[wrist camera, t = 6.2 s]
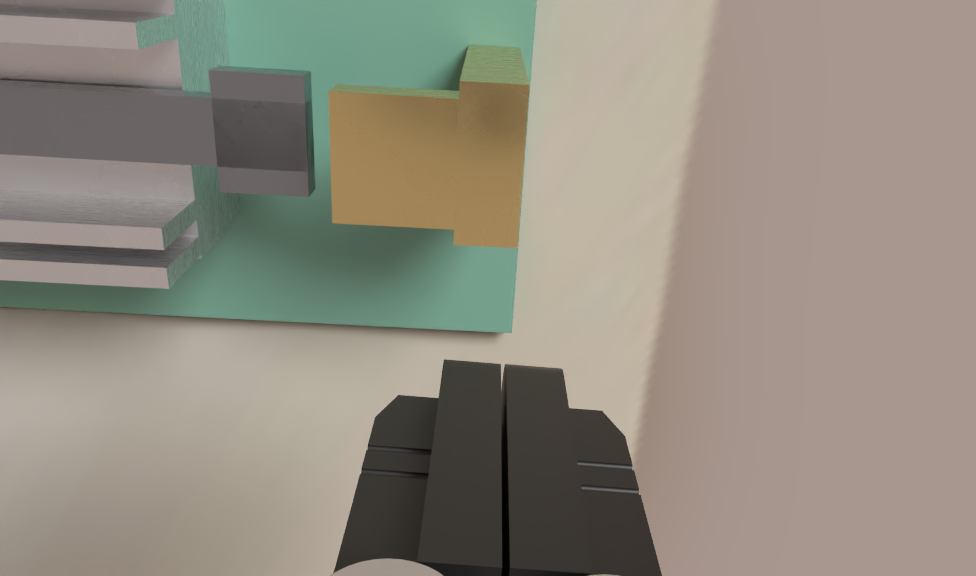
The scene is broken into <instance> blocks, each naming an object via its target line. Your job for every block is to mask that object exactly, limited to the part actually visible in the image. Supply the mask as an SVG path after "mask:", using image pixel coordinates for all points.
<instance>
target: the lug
mask: <svg viewBox="0 0 976 576" xmlns="http://www.w3.org/2000/svg"><path fill="white" fill-rule="evenodd" d="M529 87H530V84H529V80H528V77H527V73H526V69H525V65H524V61H523V57H522V53H521V49H520V48H517V47H499V46H482V45H469V46H468V50H467V54H466V58H465V62H464V66H463V69H462V73H461V77H460V84H459V91H449V90H432V89H414V88H396V87H378V86H360V85H343V84H336V85H335V86H334V87H333V88H332V89H330V90H329V91H328V97H329V130H330V163H331V196H332V223H337V224H355V225H374V226H393V227H412V228H430V229H449V230H454V241H453V245H465V246H484V247H503V248H517V247H518V234H519V221H520V207H521V194H522V180H523V167H524V154H525V140H526V127H527V113H528V100H529Z"/></svg>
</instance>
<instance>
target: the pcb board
mask: <svg viewBox="0 0 976 576" xmlns="http://www.w3.org/2000/svg"><path fill="white" fill-rule="evenodd" d="M224 2H225V14H226V26H227V39H228V51H229V64H230V66H235V67H252V68H269V69H286V70H303V71H311V86H312V111H313V137H314V163H315V190H314V191H313V193H312V194H311V195H310V196H309V197H295V196H278V195H260V194H243V193H240V200H241V212H242V215H241V216H240V217H239V218H238V219H237V220H236V222H235V223H234V224H233V225H232V226H231V227H230V228H229V229H228V230H227V231H226V232H225V233H224V234H223V235H222V237H221V238H220V239H219V240H218V241H217V242H216V243H215V244H214V245H213V246H212V247H211V248H210V249H209V250H208V251H207V253H206V254H205V255H204V256H203V257H202V258H201V259H200V258H198V259H197V260H196V261H195V262H194V263H193V264H192V265H191V266H190V267H189V268H188V269H187V270H186V271H185V272H184V273H183V275H182V276H181V277H180V278H179V279H178V280H177V281H176V282H175V283H174V284H173V285H172V286H171V287H170V288H169V289H163V288H144V287H124V286H105V285H86V284H66V283H47V282H28V281H9V280H0V307H13V308H32V309H51V310H71V311H90V312H110V313H129V314H149V315H168V316H188V317H207V318H227V319H246V320H266V321H285V322H305V323H324V324H343V325H363V326H382V327H402V328H421V329H441V330H460V331H480V332H499V333H512V321H513V307H514V294H515V281H516V267H517V254H518V247H517V248H503V247H484V246H465V245H453V241H454V230H449V229H430V228H412V227H393V226H374V225H355V224H337V223H332V196H331V163H330V130H329V97H328V91H329V90H330V89H332V88H333V87H334V86H335V85H336V84H343V85H360V86H378V87H396V88H414V89H432V90H449V91H459V84H460V77H461V73H462V69H463V66H464V62H465V58H466V54H467V50H468V46H469V45H482V46H499V47H517V48H520V49H521V53H522V57H523V61H524V65H525V69H526V73H527V77H528V80H529V84H530V81H531V67H532V54H533V40H534V27H535V14H536V0H224ZM529 94H530V87H529ZM528 107H529V100H528ZM527 121H528V113H527ZM526 134H527V127H526ZM525 147H526V140H525ZM524 161H525V154H524ZM523 174H524V167H523ZM522 187H523V180H522ZM521 201H522V194H521ZM520 214H521V207H520ZM519 227H520V221H519ZM518 241H519V234H518Z"/></svg>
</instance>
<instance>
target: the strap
mask: <svg viewBox="0 0 976 576" xmlns="http://www.w3.org/2000/svg"><path fill="white" fill-rule="evenodd" d="M209 80H210V91H211V92H201V91H183V90H166V89H149V88H132V87H115V86H98V85H81V84H63V83H46V82H29V81H12V80H0V154H5V155H22V156H40V157H57V158H74V159H91V160H109V161H126V162H143V163H161V164H178V165H195V166H212V167H218V178H219V189H220V192H226V193H243V194H260V195H278V196H295V197H309V196H310V195H311V194H312V193H313V191H314V190H315V163H314V137H313V111H312V86H311V71H303V70H286V69H269V68H252V67H235V66H217V67H215V68H212V69H210V70H209Z"/></svg>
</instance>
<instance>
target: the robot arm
mask: <svg viewBox="0 0 976 576" xmlns="http://www.w3.org/2000/svg"><path fill="white" fill-rule="evenodd" d="M638 492H639V488H638V484H637V480H636V476H635V473H634V470H632V461H631V457H630V454H629V450H628V446H627V442H626V439H625V436H624V435H623V434H622V433H621V431H620V430H619V429H618V428H617V427H616V426H615V425H614V424H613V423H612V422H611V420H610V419H609V418H608V417H607V416H606V415H605V414H604V413H603V412H602V411H597V410H584V409H571V408H569V406H568V399H567V393H566V387H565V380H564V374H563V370H562V369H559V368H546V367H533V366H521V365H508V364H505V367H504V373H503V381H502V390H501V365H500V364H493V363H481V362H468V361H455V360H444V363H443V370H442V378H441V385H440V393H439V398H428V397H415V396H402V395H398V396H397V397H396V398H395V399H394V400H393V401H392V402H391V403H390V404H389V405H388V406H387V407H386V408H384V409H383V410H382V411H381V412H380V413H379V414H378V415H377V416H376V417H375V420H374V424H373V428H372V432H371V435H370V439H369V443H368V450H366V454H365V458H364V462H363V465H362V472H361V474H360V477H359V480H358V484H357V488H356V492H355V495H354V499H353V503H352V507H351V511H350V514H349V518H348V522H347V526H346V529H345V533H344V537H343V541H342V544H341V548H340V552H339V556H338V559H337V563H336V567H335V570H334V572H333V574H332V575H330V576H662V574H661V571H660V567H659V563H658V560H657V556H656V552H655V548H654V545H653V540H652V537H651V533H650V529H649V525H648V522H647V518H646V514H645V510H644V507H643V503H642V499H641V495H639V493H638Z"/></svg>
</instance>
